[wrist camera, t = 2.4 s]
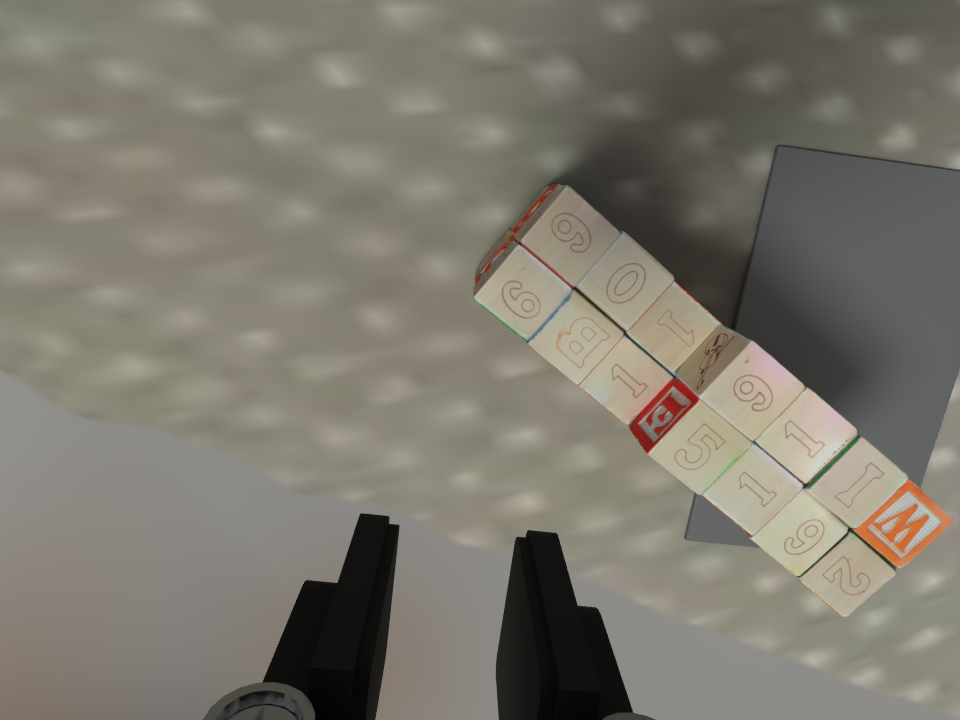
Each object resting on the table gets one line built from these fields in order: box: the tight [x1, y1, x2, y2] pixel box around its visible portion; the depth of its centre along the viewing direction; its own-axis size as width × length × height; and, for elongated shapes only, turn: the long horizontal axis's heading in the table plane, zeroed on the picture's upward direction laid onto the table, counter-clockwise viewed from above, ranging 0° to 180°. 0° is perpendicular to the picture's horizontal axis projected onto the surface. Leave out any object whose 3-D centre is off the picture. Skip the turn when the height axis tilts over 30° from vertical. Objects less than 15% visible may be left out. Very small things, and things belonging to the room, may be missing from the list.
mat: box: [684, 146, 960, 548], centre depth 37 cm, size 14×24×1 cm, turn 173°
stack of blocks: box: [473, 184, 954, 617], centre depth 30 cm, size 21×6×12 cm, turn 50°
